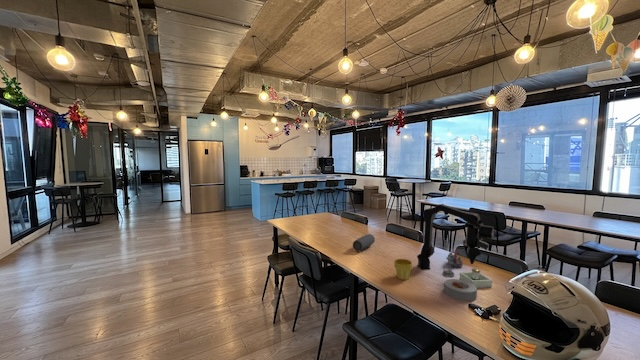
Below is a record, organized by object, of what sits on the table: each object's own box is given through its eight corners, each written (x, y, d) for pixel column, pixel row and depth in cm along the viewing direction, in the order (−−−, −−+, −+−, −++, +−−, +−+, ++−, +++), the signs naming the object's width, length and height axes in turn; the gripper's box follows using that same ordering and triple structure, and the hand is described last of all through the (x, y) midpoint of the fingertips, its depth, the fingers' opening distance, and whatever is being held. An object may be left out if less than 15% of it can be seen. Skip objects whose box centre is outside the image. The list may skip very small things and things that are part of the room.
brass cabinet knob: (482, 283, 153) (483, 271, 152) (474, 284, 152) (474, 271, 151) (476, 279, 157) (477, 268, 157) (468, 280, 157) (469, 268, 156)
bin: (472, 288, 148) (473, 281, 148) (459, 278, 160) (459, 272, 160) (491, 287, 150) (492, 280, 149) (477, 278, 161) (477, 271, 161)
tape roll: (439, 294, 142) (439, 284, 142) (450, 284, 153) (450, 276, 152) (471, 305, 131) (471, 295, 131) (480, 294, 142) (480, 285, 141)
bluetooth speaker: (364, 244, 225) (365, 232, 224) (375, 246, 219) (375, 234, 218) (351, 251, 206) (352, 238, 205) (362, 254, 201) (362, 241, 200)
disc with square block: (446, 277, 162) (446, 274, 162) (440, 272, 168) (440, 269, 168) (456, 276, 163) (456, 273, 163) (450, 272, 169) (450, 269, 169)
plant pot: (390, 275, 164) (390, 259, 163) (403, 272, 168) (404, 257, 167) (401, 282, 154) (402, 266, 154) (415, 279, 159) (416, 263, 158)
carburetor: (468, 266, 173) (456, 250, 175) (452, 274, 177) (441, 258, 178) (465, 260, 184) (453, 245, 186) (450, 267, 187) (439, 253, 189)
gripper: (492, 241, 144) (490, 269, 145) (483, 232, 162) (481, 257, 163) (469, 239, 147) (467, 266, 149) (463, 230, 165) (461, 254, 166)
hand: (470, 261), depth 157 cm, fingers open, 9 cm apart
